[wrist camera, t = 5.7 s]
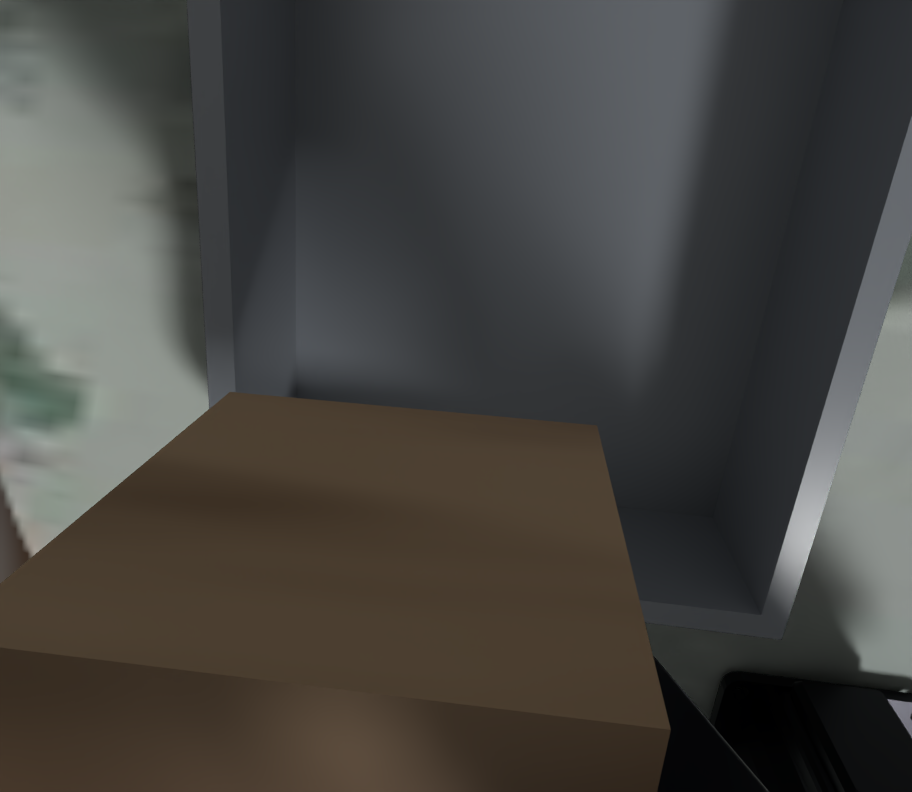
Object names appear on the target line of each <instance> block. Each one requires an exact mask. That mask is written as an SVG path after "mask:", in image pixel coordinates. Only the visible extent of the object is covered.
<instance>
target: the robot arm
mask: <svg viewBox="0 0 912 792" xmlns="http://www.w3.org/2000/svg"><path fill="white" fill-rule="evenodd" d="M653 658H654V662H655V667H656V671H657V675H658V679H659V683H660V687H661V691H662V695H663V700H664V704H665V708H666V712H667V716H668V720H669V724H670V729H671V731H670V736H669V740H668V745H667V749H666V754H665V758H664V763H663V767H662V772H661V776H660V781H659V785H658V790H657V792H912V694H911V693H903V692H895V691H888V690H880V689H872V688H864V687H856V686H849V685H841V684H833V683H825V682H818V681H810V680H802V679H794V678H787V677H779V676H771V675H763V674H756V673H748V672H731V673H728V674H727V675H726V676H724V677H723V679H722V680H721V683H720V686H719V690H718V693H717V697H716V700H715V704H714V707H713V711H712V714H711V718H710V721H709V720H708V719H707V718H706V717H705V716H704V715H703V713H702V712H701V711H700V710H699V709H698V708H697V706H696V705H695V704H694V703H693V702H692V700H691V699H690V698H689V697H688V696H687V695H686V693H685V692H684V691H683V690H682V689H681V688H680V686H679V685H678V684H677V683H676V682H675V680H674V679H673V678H672V677H671V676H670V675H669V673H668V672H667V671H666V670H665V669H664V668H663V666H662V665H661V664H660V663H659V662H658V660H657V659H656V658H655V657H654V656H653ZM737 687H743V688H741V689H739V690H734V689H735V688H737Z"/></svg>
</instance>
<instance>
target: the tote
mask: <svg viewBox="0 0 912 792" xmlns="http://www.w3.org/2000/svg"><path fill="white" fill-rule="evenodd" d="M187 15H188V33H189V51H190V69H191V87H192V106H193V124H194V142H195V160H196V178H197V196H198V214H199V233H200V251H201V269H202V287H203V305H204V323H205V341H206V360H207V378H208V396H209V409H210V408H211V407H212V406H214V405H215V404H216V403H217V402H218V401H220V400H221V399H222V398H223V397H224V396H226V395H227V394H228V393H229V392H237V393H248V394H259V395H270V396H281V397H292V398H303V399H314V400H325V401H335V402H346V403H357V404H368V405H379V406H390V407H401V408H412V409H423V410H434V411H445V412H456V413H467V414H477V415H488V416H499V417H510V418H521V419H532V420H543V421H554V422H565V423H576V424H587V425H597V427H598V431H599V435H600V439H601V444H602V448H603V452H604V456H605V460H606V464H607V468H608V473H609V477H610V481H611V485H612V489H613V493H614V497H615V501H616V506H617V510H618V514H619V518H620V522H621V526H622V530H623V534H624V539H625V543H626V547H627V551H628V555H629V559H630V563H631V567H632V572H633V576H634V580H635V584H636V588H637V592H638V596H639V601H640V605H641V609H642V613H643V617H644V621H645V623H651V624H659V625H667V626H675V627H683V628H691V629H699V630H707V631H715V632H723V633H731V634H738V635H746V636H754V637H762V638H770V639H778V640H782V638H783V635H784V631H785V628H786V625H787V622H788V619H789V616H790V613H791V610H792V606H793V603H794V600H795V597H796V594H797V591H798V588H799V584H800V581H801V578H802V575H803V572H804V569H805V566H806V563H807V559H808V556H809V553H810V550H811V547H812V544H813V541H814V538H815V534H816V531H817V528H818V525H819V522H820V519H821V516H822V513H823V509H824V506H825V503H826V500H827V497H828V494H829V491H830V488H831V484H832V481H833V478H834V475H835V472H836V469H837V466H838V463H839V459H840V456H841V453H842V450H843V447H844V444H845V441H846V437H847V434H848V431H849V428H850V425H851V422H852V419H853V416H854V412H855V409H856V406H857V403H858V400H859V397H860V394H861V391H862V387H863V384H864V381H865V378H866V375H867V372H868V369H869V366H870V362H871V359H872V356H873V353H874V350H875V347H876V344H877V341H878V337H879V334H880V331H881V328H882V325H883V322H884V319H885V315H886V312H887V309H888V306H889V303H890V300H891V297H892V294H893V290H894V287H895V284H896V281H897V278H898V275H899V272H900V269H901V265H902V262H903V259H904V256H905V253H906V250H907V247H908V244H909V240H910V237H911V234H912V0H187Z"/></svg>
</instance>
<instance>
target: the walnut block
mask: <svg viewBox="0 0 912 792" xmlns="http://www.w3.org/2000/svg"><path fill="white" fill-rule="evenodd" d="M670 731H671V729H670V724H669V720H668V716H667V712H666V708H665V704H664V700H663V695H662V691H661V687H660V683H659V679H658V675H657V671H656V667H655V662H654V658H653V654H652V650H651V646H650V642H649V638H648V634H647V629H646V625H645V621H644V617H643V613H642V609H641V605H640V601H639V596H638V592H637V588H636V584H635V580H634V576H633V572H632V567H631V563H630V559H629V555H628V551H627V547H626V543H625V539H624V534H623V530H622V526H621V522H620V518H619V514H618V510H617V506H616V501H615V497H614V493H613V489H612V485H611V481H610V477H609V473H608V468H607V464H606V460H605V456H604V452H603V448H602V444H601V439H600V435H599V431H598V427H597V425H587V424H576V423H565V422H554V421H543V420H532V419H521V418H510V417H499V416H488V415H477V414H467V413H456V412H445V411H434V410H423V409H412V408H401V407H390V406H379V405H368V404H357V403H346V402H335V401H325V400H314V399H303V398H292V397H281V396H270V395H259V394H248V393H237V392H229V393H228V394H227V395H226V396H224V397H223V398H222V399H221V400H220V401H218V402H217V403H216V404H215V405H214V406H212V407H211V408H210V409H209V410H208V411H206V412H205V413H204V414H203V415H202V416H200V417H199V418H198V419H197V420H196V421H194V422H193V423H192V424H191V425H190V426H188V427H187V428H186V429H185V430H184V431H182V432H181V433H180V434H179V435H178V436H176V437H175V438H174V439H173V440H172V441H170V442H169V443H168V444H167V445H166V446H164V447H163V448H162V449H161V450H160V451H159V452H157V453H156V454H155V455H154V456H153V457H151V458H150V459H149V460H148V461H147V462H145V463H144V464H143V465H142V466H141V467H139V468H138V469H137V470H136V471H135V472H133V473H132V474H131V475H130V476H129V477H127V478H126V479H125V480H124V481H123V482H121V483H120V484H119V485H118V486H117V487H115V488H114V489H113V490H112V491H111V492H109V493H108V494H107V495H106V496H105V497H103V498H102V499H101V500H100V501H99V502H97V503H96V504H95V505H94V506H93V507H91V508H90V509H89V510H88V511H87V512H85V513H84V514H83V515H82V516H81V517H79V518H78V519H77V520H76V521H75V522H74V523H72V524H71V525H70V526H69V527H68V528H66V529H65V530H64V531H63V532H62V533H60V534H59V535H58V536H57V537H56V538H54V539H53V540H52V541H51V542H50V543H48V544H47V545H46V546H45V547H44V548H42V549H41V550H40V551H39V552H38V553H36V554H35V555H34V556H33V557H32V558H30V559H29V560H28V561H27V562H26V563H24V564H23V565H22V566H21V567H20V568H18V569H17V570H16V571H15V572H14V573H13V574H11V575H10V576H9V577H8V578H6V579H5V580H4V581H3V582H2V583H0V792H657V790H658V785H659V781H660V776H661V772H662V767H663V763H664V758H665V754H666V749H667V745H668V740H669V736H670Z"/></svg>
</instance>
